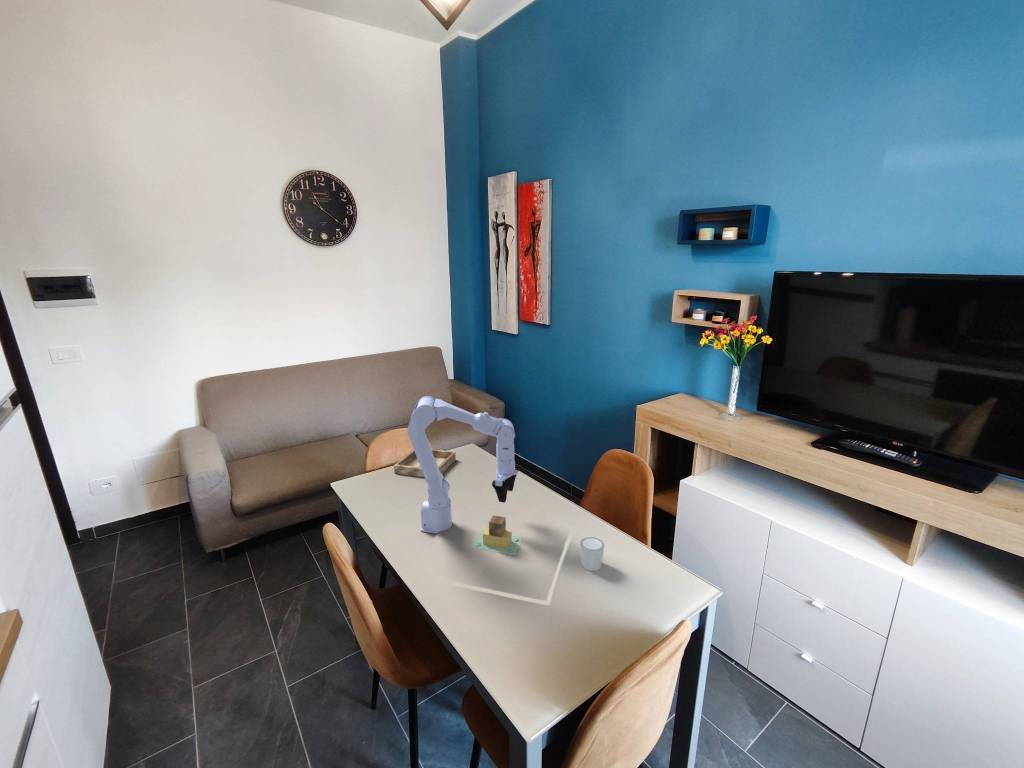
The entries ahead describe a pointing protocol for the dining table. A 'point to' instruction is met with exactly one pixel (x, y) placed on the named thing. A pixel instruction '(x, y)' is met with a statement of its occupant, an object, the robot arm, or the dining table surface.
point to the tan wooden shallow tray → (413, 468)
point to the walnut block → (497, 526)
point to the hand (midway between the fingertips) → (505, 495)
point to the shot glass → (591, 553)
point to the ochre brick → (497, 539)
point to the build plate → (511, 549)
